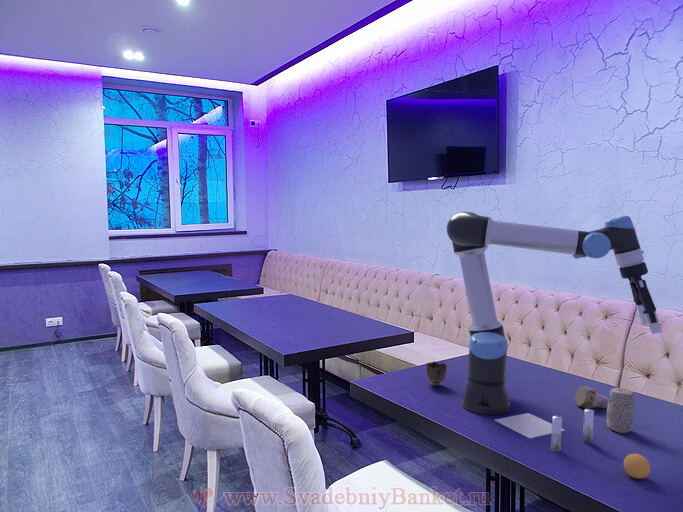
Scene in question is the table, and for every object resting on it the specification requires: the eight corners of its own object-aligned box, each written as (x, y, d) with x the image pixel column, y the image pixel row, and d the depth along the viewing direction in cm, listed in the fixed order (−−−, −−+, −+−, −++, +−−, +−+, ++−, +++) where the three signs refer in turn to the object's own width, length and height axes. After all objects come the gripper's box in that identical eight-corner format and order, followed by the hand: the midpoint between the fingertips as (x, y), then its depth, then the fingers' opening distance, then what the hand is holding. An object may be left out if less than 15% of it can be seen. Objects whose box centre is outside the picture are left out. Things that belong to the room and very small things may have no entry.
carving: (623, 436, 142) (626, 395, 141) (600, 426, 149) (602, 387, 148) (638, 433, 144) (641, 392, 144) (615, 423, 151) (617, 384, 150)
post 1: (548, 449, 133) (550, 416, 132) (555, 447, 134) (556, 414, 133) (556, 452, 131) (557, 419, 130) (562, 451, 132) (564, 418, 131)
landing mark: (494, 420, 152) (494, 419, 151) (528, 413, 158) (528, 413, 158) (529, 438, 139) (530, 438, 139) (565, 430, 145) (565, 429, 145)
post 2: (580, 441, 138) (582, 409, 138) (586, 439, 139) (588, 408, 139) (588, 444, 136) (590, 412, 135) (594, 443, 137) (596, 411, 136)
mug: (615, 412, 161) (605, 387, 159) (585, 422, 163) (575, 398, 161) (605, 399, 168) (596, 375, 166) (577, 408, 170) (567, 385, 168)
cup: (449, 384, 185) (449, 363, 184) (441, 390, 178) (442, 368, 178) (430, 380, 189) (430, 360, 188) (422, 385, 182) (423, 364, 182)
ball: (617, 474, 120) (619, 452, 120) (632, 469, 122) (633, 447, 122) (639, 485, 115) (641, 462, 115) (654, 480, 117) (656, 457, 117)
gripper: (653, 263, 145) (675, 334, 145) (637, 258, 169) (656, 318, 168) (625, 270, 148) (647, 339, 147) (612, 264, 171) (631, 323, 171)
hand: (651, 328), depth 158 cm, fingers open, 13 cm apart
